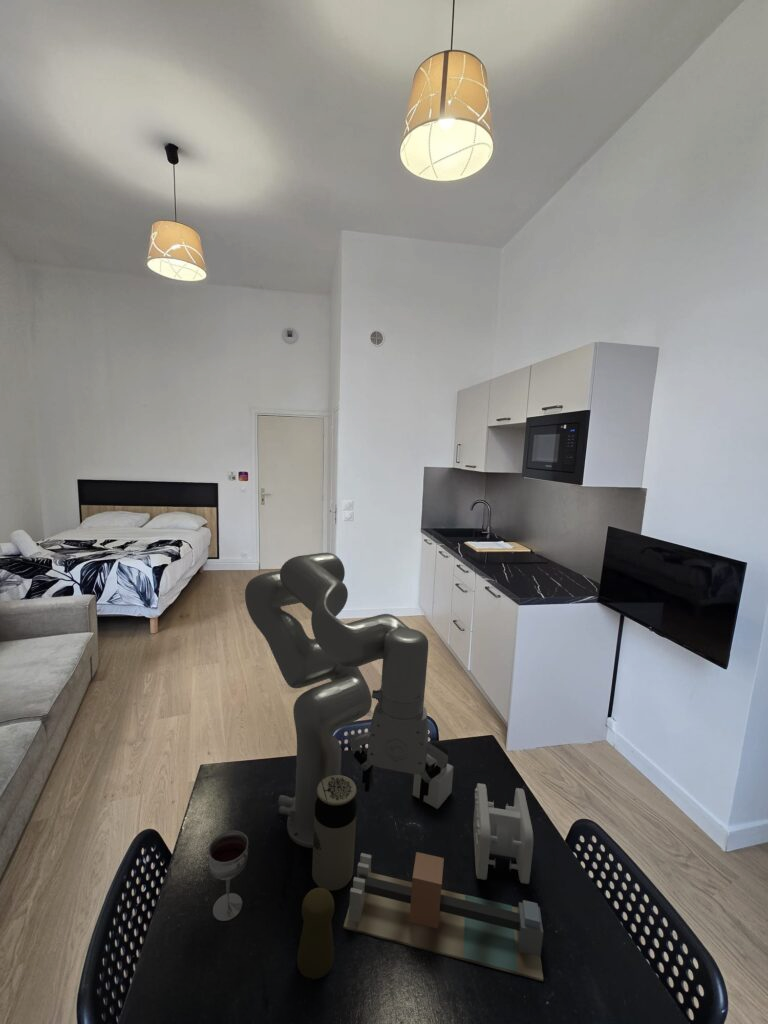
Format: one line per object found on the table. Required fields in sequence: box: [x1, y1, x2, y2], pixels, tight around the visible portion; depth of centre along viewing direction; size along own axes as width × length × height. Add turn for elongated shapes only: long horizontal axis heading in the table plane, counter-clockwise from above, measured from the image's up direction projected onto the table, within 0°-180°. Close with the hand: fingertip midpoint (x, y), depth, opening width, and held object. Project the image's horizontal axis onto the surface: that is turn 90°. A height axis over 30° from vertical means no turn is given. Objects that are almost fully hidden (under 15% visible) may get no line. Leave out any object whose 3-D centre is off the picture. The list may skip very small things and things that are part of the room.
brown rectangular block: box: [409, 851, 445, 929], centre depth 80 cm, size 5×5×9 cm
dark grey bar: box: [359, 875, 520, 931], centre depth 80 cm, size 30×2×2 cm, turn 79°
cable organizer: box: [472, 782, 534, 885], centre depth 93 cm, size 15×11×12 cm
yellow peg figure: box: [296, 886, 336, 980], centre depth 72 cm, size 6×6×11 cm
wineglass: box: [207, 830, 249, 922], centre depth 80 cm, size 7×7×12 cm
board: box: [343, 872, 544, 982], centre depth 80 cm, size 33×11×1 cm, turn 79°
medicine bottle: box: [412, 742, 454, 810], centre depth 109 cm, size 7×7×12 cm
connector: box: [517, 899, 544, 957], centre depth 77 cm, size 4×4×6 cm
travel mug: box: [311, 774, 358, 891], centre depth 87 cm, size 8×8×18 cm
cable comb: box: [348, 852, 372, 922], centre depth 83 cm, size 2×8×6 cm, turn 169°
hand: (394, 791), depth 80 cm, fingers open, 9 cm apart
